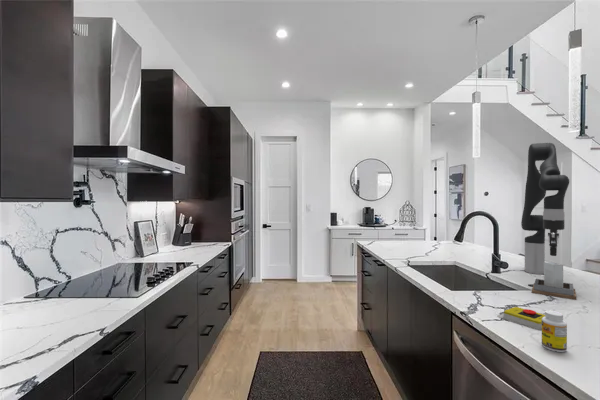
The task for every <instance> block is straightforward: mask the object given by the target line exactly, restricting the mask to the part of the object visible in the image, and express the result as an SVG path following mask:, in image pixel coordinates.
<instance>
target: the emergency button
mask: <svg viewBox="0 0 600 400" xmlns="http://www.w3.org/2000/svg"><path fill="white" fill-rule="evenodd" d="M497 317H498V318H499V319H502V318H503V320H506V321H508V320H509V322H512V323H514V324H519V325H521V326H523V327H528V328H530V327H531V329H534V330H536V331H540V332H542V318H543V317H545V313H544V314H543V313H539V312H536V310H532V309H527V308H522V307H518V306H513V307H511V308H508V309H505V310H504V311H503V313H500V314H498V315H497ZM497 317H496V318H497Z"/></svg>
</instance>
